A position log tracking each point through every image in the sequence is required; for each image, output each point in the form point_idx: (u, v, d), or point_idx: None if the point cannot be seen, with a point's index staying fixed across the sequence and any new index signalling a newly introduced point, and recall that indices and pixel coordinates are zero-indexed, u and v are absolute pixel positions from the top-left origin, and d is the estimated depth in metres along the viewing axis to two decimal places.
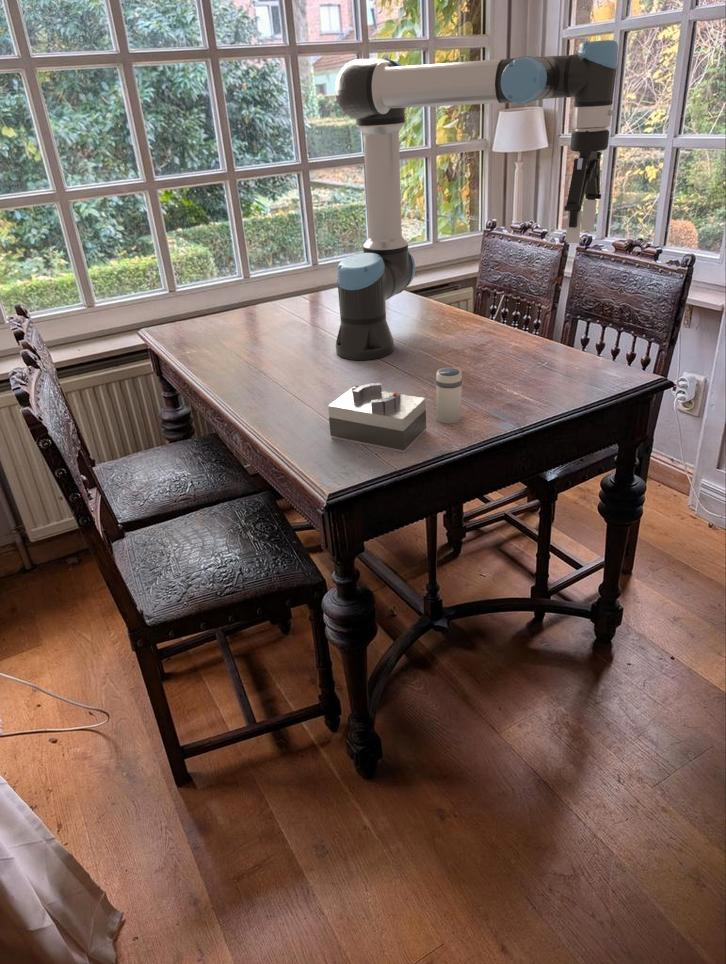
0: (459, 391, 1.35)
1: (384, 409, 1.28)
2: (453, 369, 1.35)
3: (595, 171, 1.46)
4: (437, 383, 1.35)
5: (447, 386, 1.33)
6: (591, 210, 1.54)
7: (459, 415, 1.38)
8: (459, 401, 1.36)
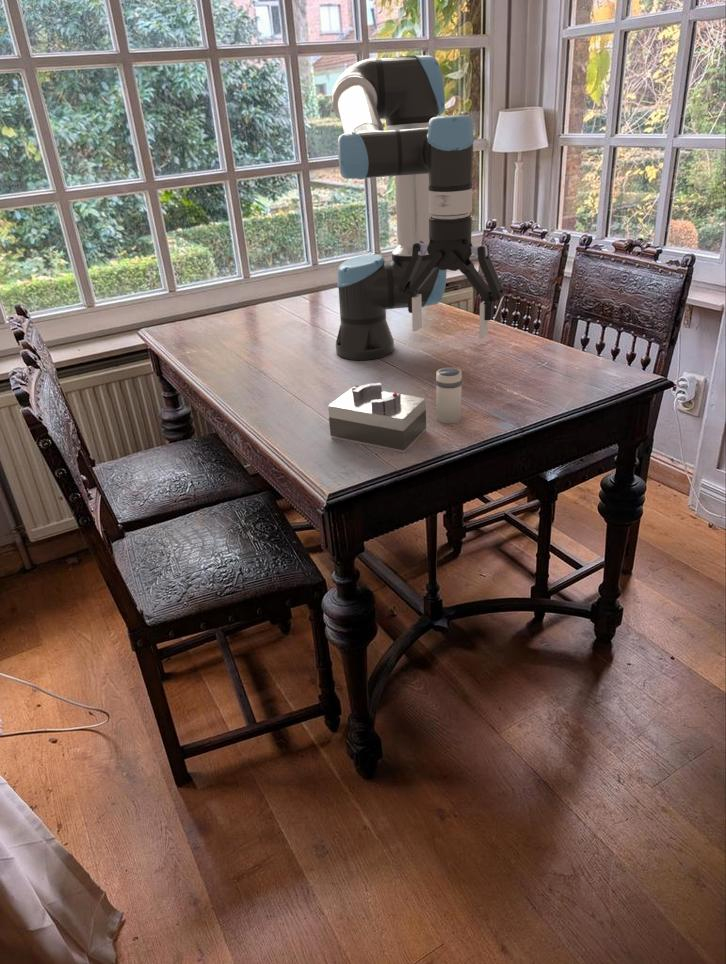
0: (459, 391, 1.35)
1: (384, 409, 1.28)
2: (453, 369, 1.35)
3: None
4: (437, 383, 1.35)
5: (446, 386, 1.33)
6: None
7: (459, 415, 1.38)
8: (459, 401, 1.36)
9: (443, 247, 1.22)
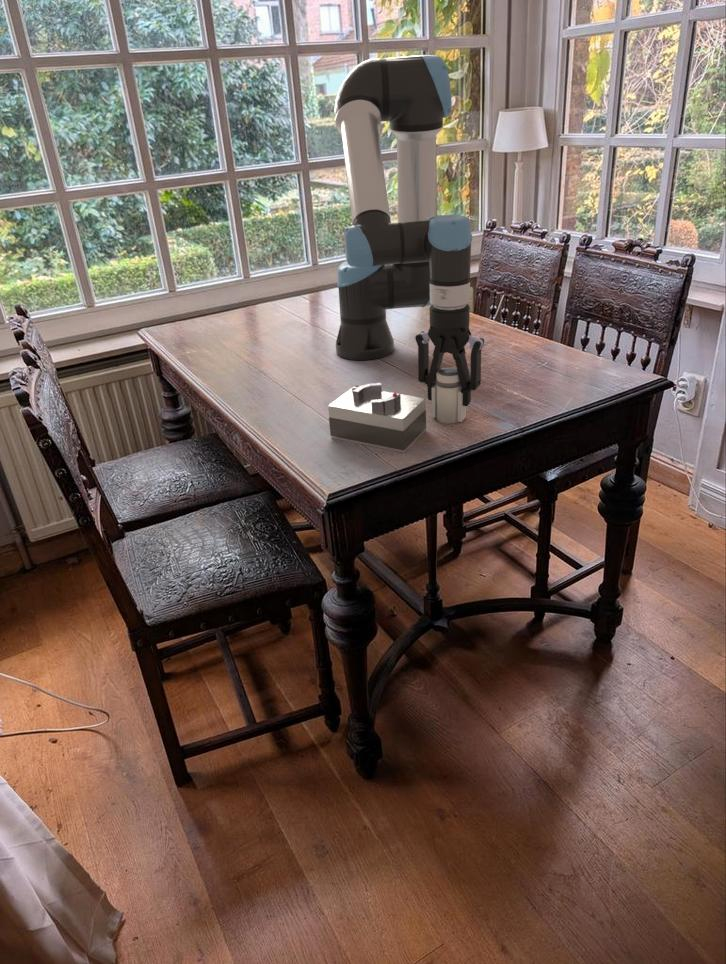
0: None
1: (384, 409, 1.28)
2: (453, 369, 1.35)
3: None
4: (437, 383, 1.35)
5: (447, 386, 1.33)
6: None
7: None
8: None
9: None
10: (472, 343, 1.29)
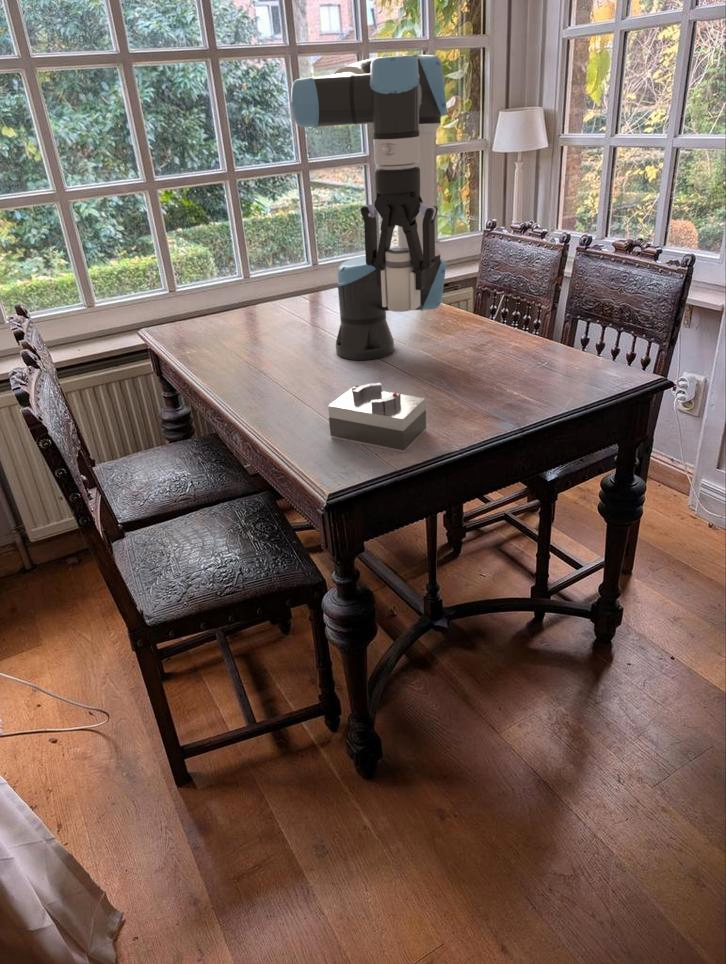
0: None
1: (384, 409, 1.28)
2: (404, 248, 1.20)
3: None
4: (386, 264, 1.19)
5: (397, 265, 1.18)
6: None
7: None
8: None
9: (388, 195, 1.14)
10: (424, 211, 1.13)
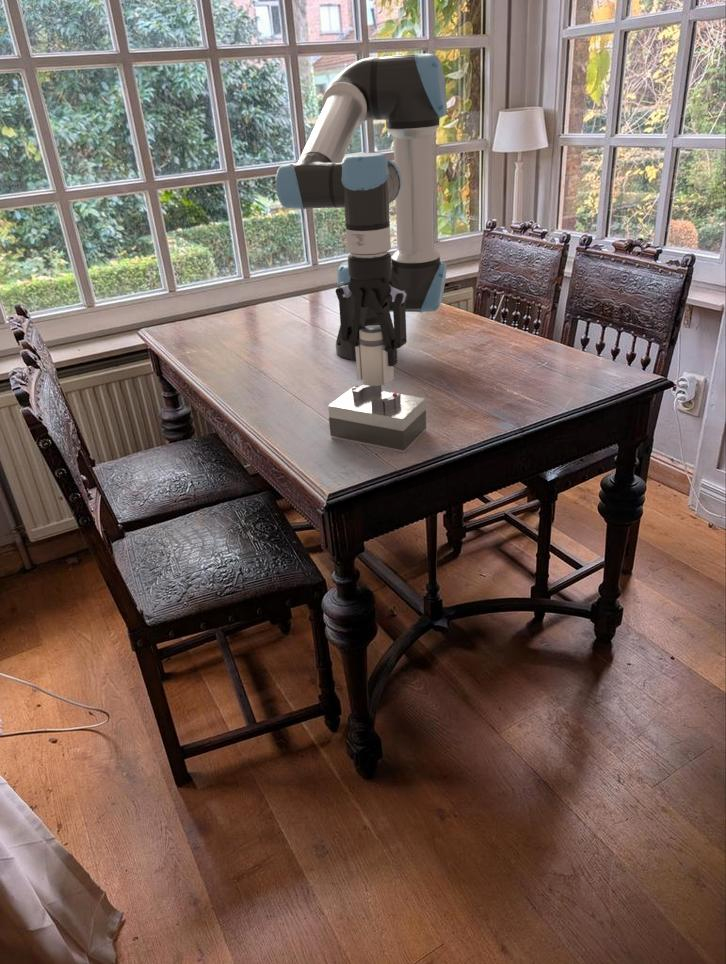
0: None
1: (384, 409, 1.28)
2: (378, 326, 1.25)
3: None
4: (360, 341, 1.24)
5: (369, 344, 1.23)
6: None
7: None
8: None
9: (361, 279, 1.19)
10: (394, 295, 1.18)
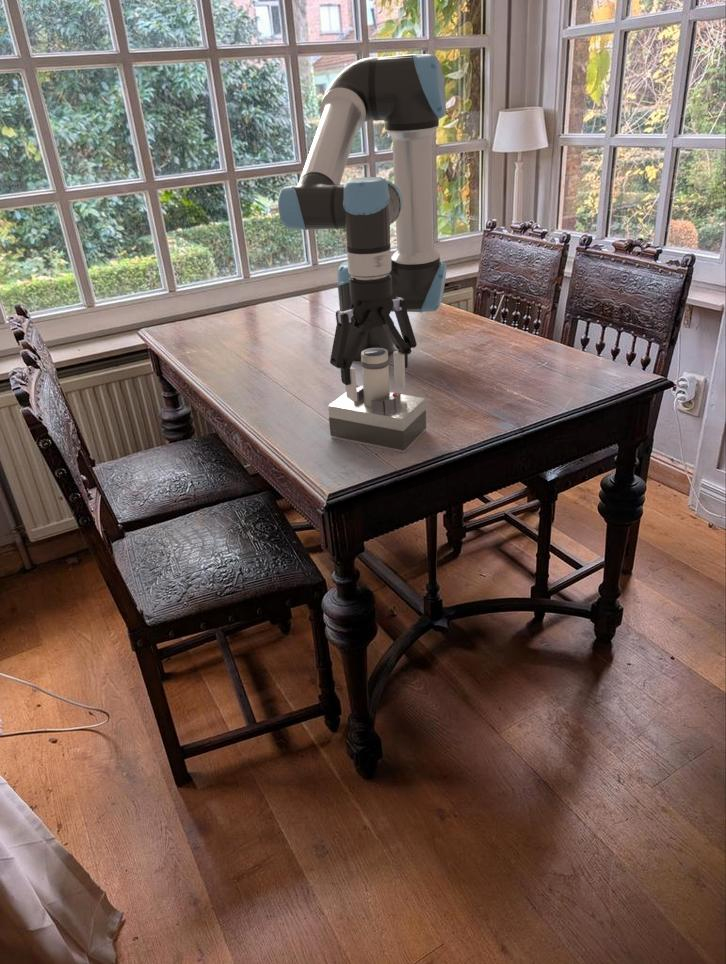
0: None
1: (384, 409, 1.28)
2: (372, 349, 1.27)
3: (384, 321, 1.23)
4: (373, 366, 1.25)
5: (385, 365, 1.26)
6: (399, 365, 1.30)
7: None
8: None
9: (370, 304, 1.20)
10: (397, 305, 1.24)
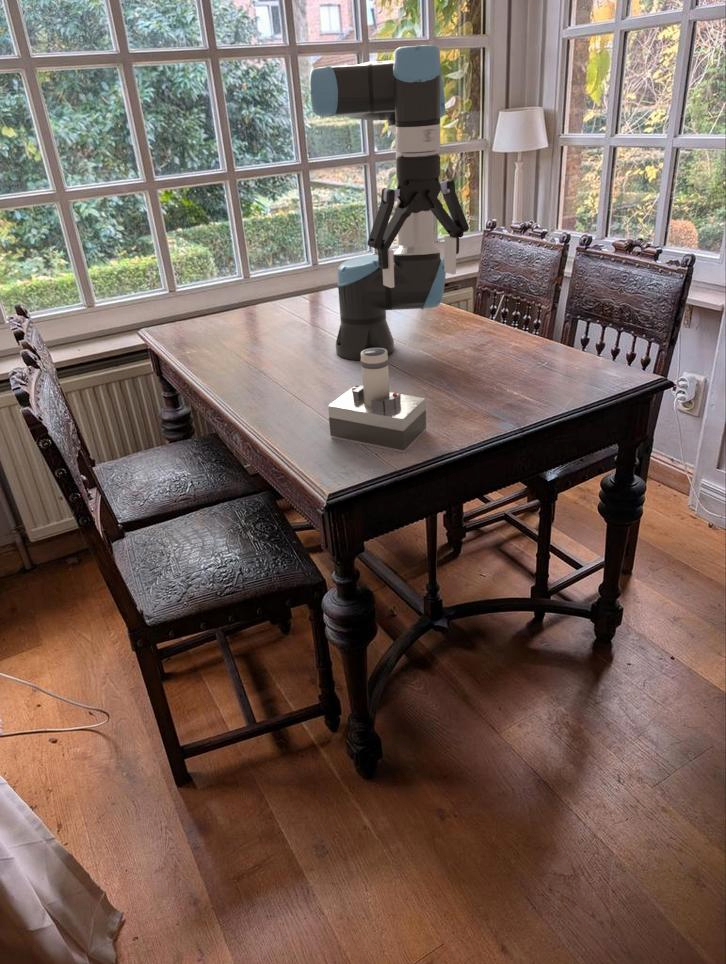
0: None
1: (384, 409, 1.28)
2: (371, 349, 1.28)
3: (433, 204, 1.19)
4: (372, 366, 1.25)
5: (384, 364, 1.26)
6: (450, 250, 1.26)
7: None
8: None
9: (418, 188, 1.17)
10: (444, 187, 1.20)
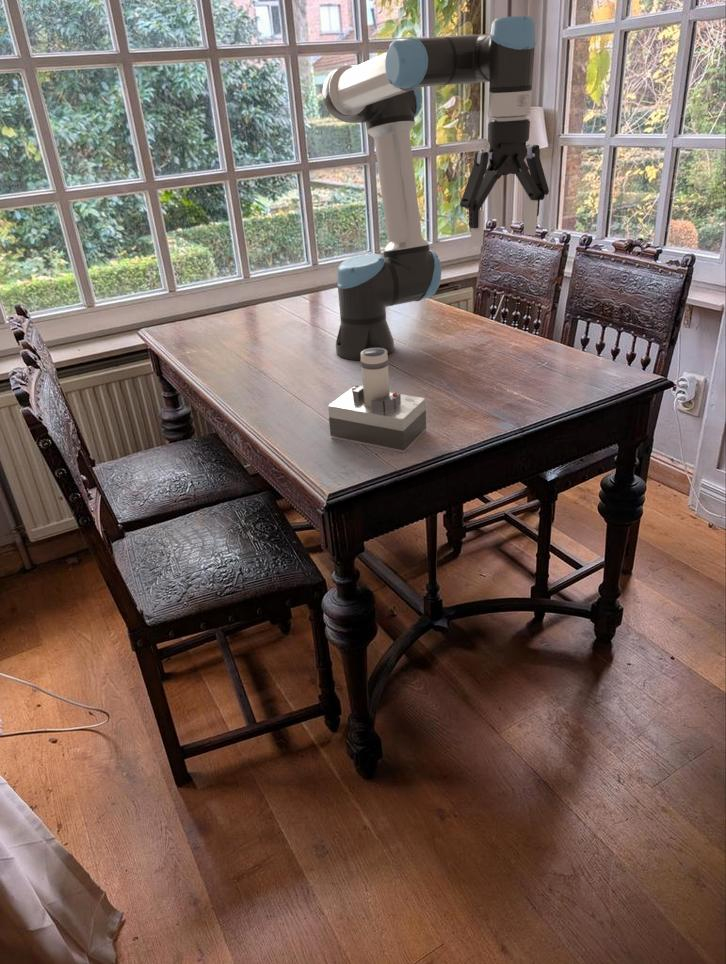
0: None
1: (384, 409, 1.28)
2: (371, 349, 1.27)
3: (520, 167, 1.28)
4: (372, 367, 1.25)
5: (384, 365, 1.26)
6: (531, 212, 1.35)
7: None
8: None
9: (508, 151, 1.26)
10: (529, 152, 1.29)
